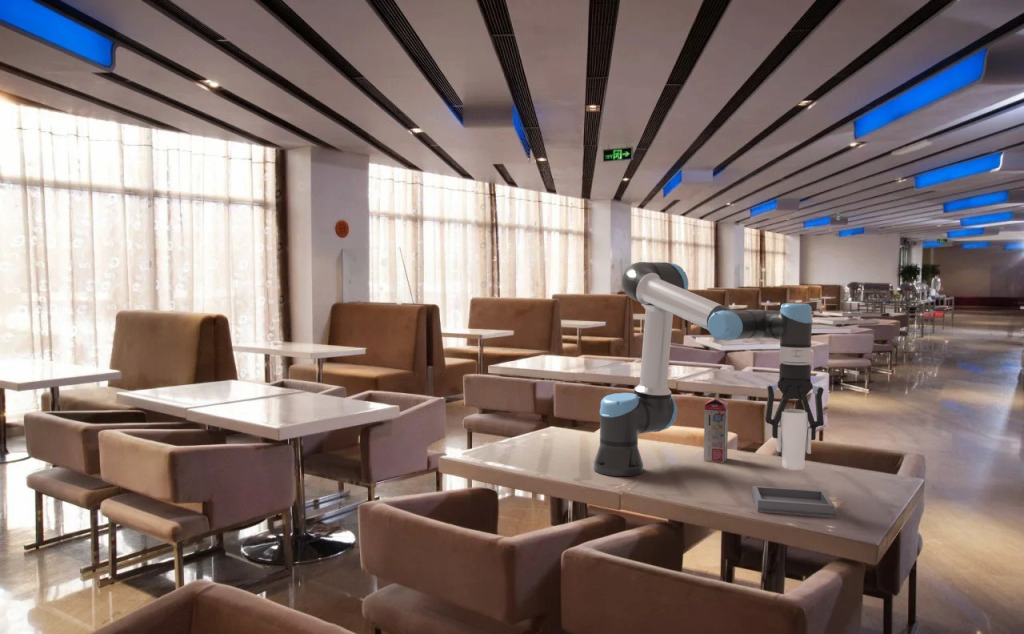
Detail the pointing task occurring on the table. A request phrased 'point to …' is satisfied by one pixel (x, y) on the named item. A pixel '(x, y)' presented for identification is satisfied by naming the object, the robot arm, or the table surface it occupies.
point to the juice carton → (716, 430)
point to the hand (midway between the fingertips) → (793, 451)
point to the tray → (793, 501)
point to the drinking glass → (793, 438)
